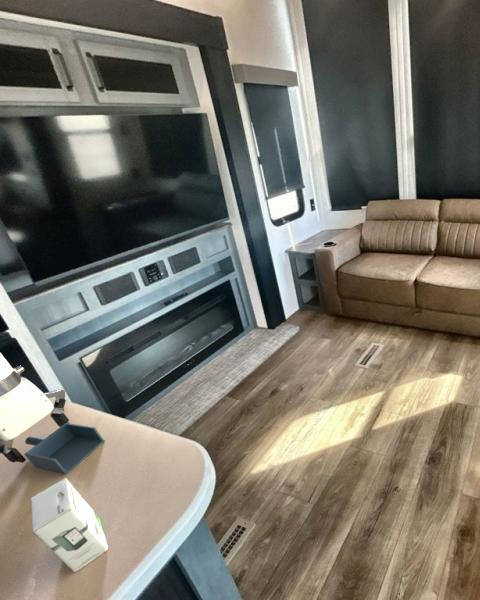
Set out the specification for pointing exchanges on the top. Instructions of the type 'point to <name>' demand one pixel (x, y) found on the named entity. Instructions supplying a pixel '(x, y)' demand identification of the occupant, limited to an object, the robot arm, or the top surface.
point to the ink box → (68, 525)
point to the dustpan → (63, 447)
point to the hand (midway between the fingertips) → (43, 442)
